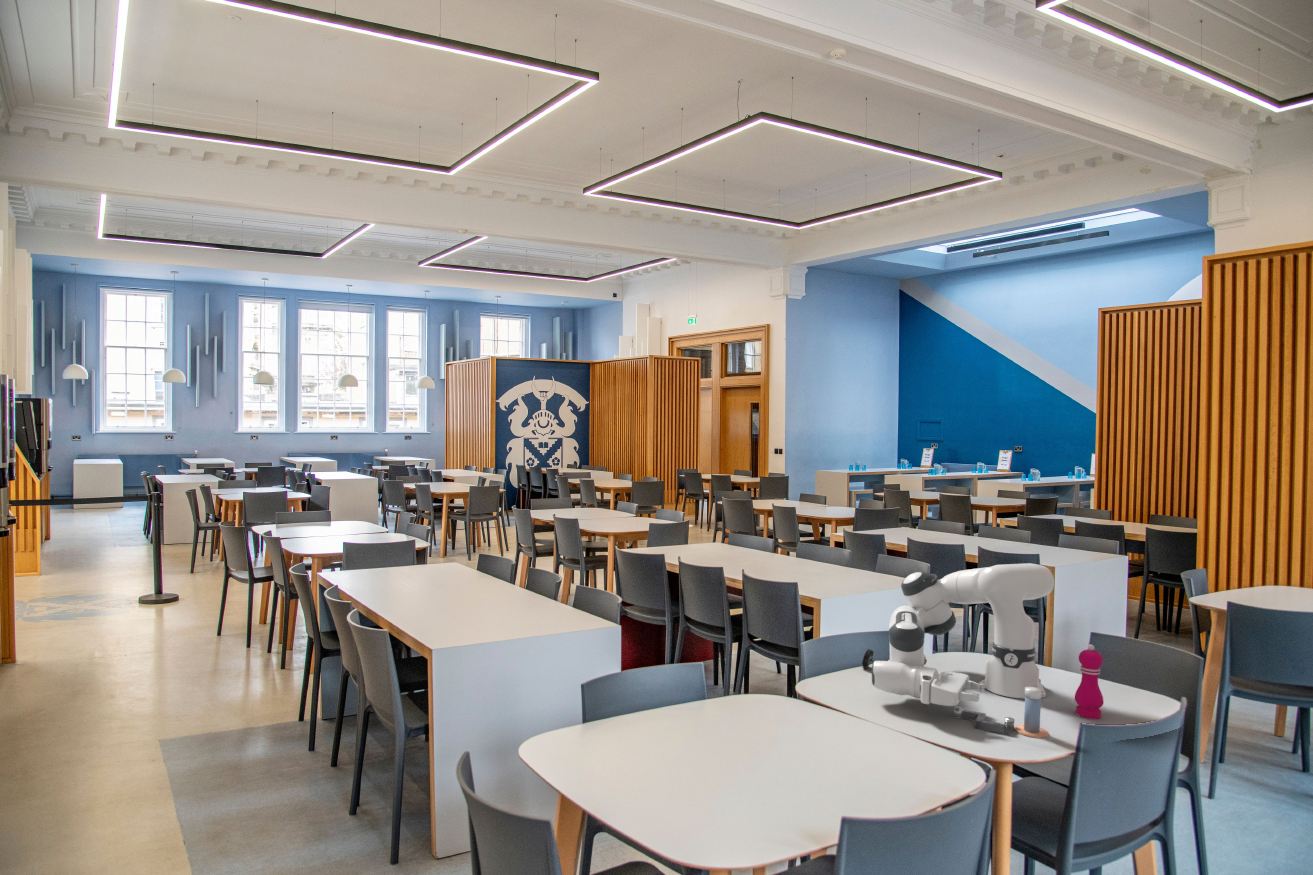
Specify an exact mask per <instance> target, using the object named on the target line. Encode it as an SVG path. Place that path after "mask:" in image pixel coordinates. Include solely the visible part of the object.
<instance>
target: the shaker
mask: <svg viewBox="0 0 1313 875" xmlns="http://www.w3.org/2000/svg"><path fill="white" fill-rule="evenodd" d="M1041 694H1042V690H1041V689H1039V688H1036V687H1025V698H1024V710H1023V711H1024V712H1023V713H1024V714H1023V717H1024V718H1023V725H1024V730H1025V731H1027V732H1030V733H1039V732H1040V728H1041V708H1042V707H1041V705H1042V697H1041Z"/></svg>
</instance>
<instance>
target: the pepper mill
mask: <svg viewBox="0 0 1313 875" xmlns="http://www.w3.org/2000/svg"><path fill="white" fill-rule="evenodd" d="M1078 661H1079V663H1080V664H1081V665H1080V667H1079V668H1080V670H1079V671H1080V672H1081V680H1080V683H1079V686H1078V688H1076V691H1075V693H1074V701H1075V703H1076V704H1077V706H1075V713H1077V714H1078V716H1079V715H1080V717H1081V716H1083V717H1082V718H1085V717H1087V718H1086V719H1090V718H1092V719H1091V720H1099V719H1101V717H1102V710H1101V708H1102V707H1103V705H1104V695H1103V693H1102V691H1101V689H1100V685H1099V675H1101V668H1100V667H1101V666H1102V665H1103V656H1102V654H1101V653H1100V652H1098V651H1097V650H1096V649H1095V646H1094V645H1093V644H1088V645H1087V649H1083V650H1082V651H1081V652H1079V654H1078ZM1077 714H1076V715H1077Z"/></svg>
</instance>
